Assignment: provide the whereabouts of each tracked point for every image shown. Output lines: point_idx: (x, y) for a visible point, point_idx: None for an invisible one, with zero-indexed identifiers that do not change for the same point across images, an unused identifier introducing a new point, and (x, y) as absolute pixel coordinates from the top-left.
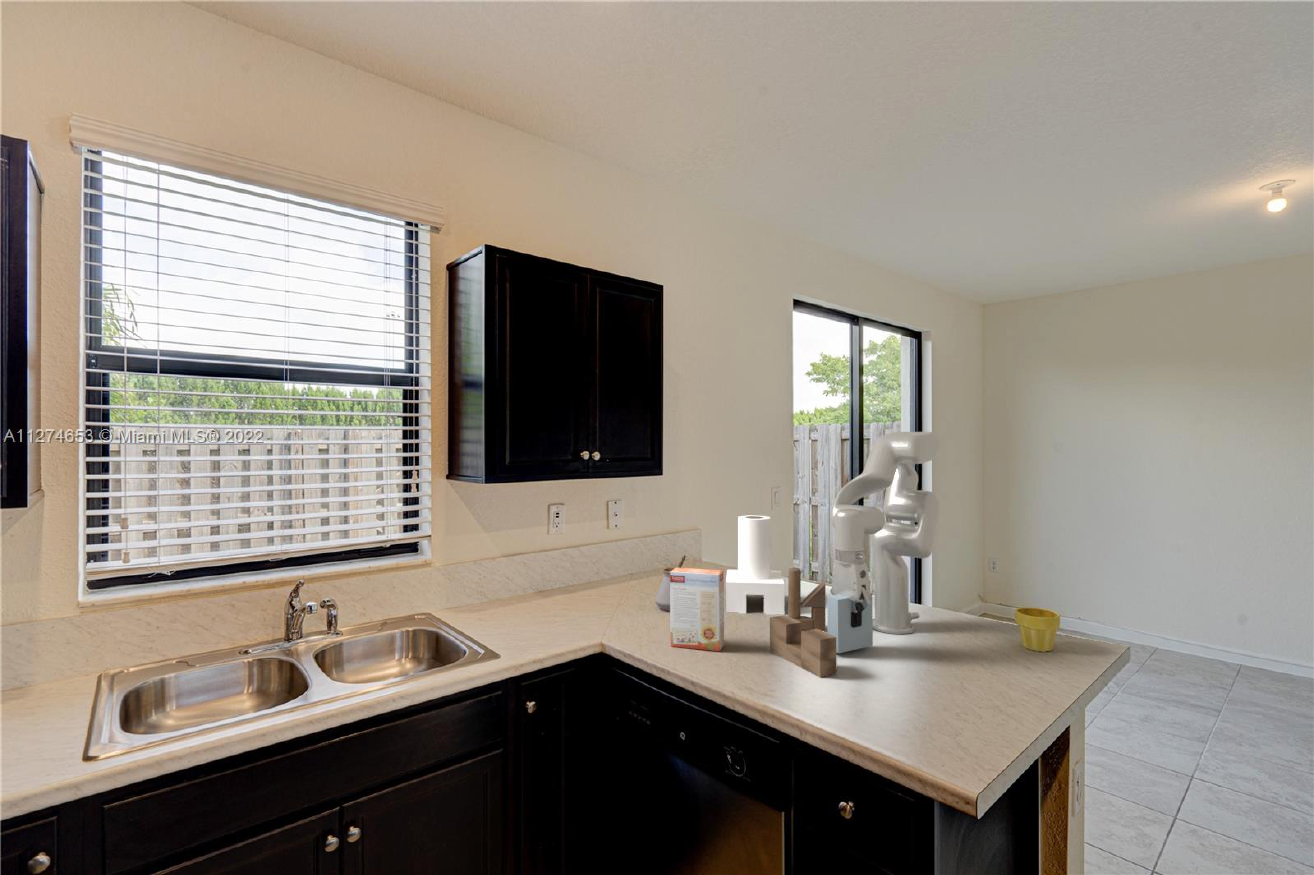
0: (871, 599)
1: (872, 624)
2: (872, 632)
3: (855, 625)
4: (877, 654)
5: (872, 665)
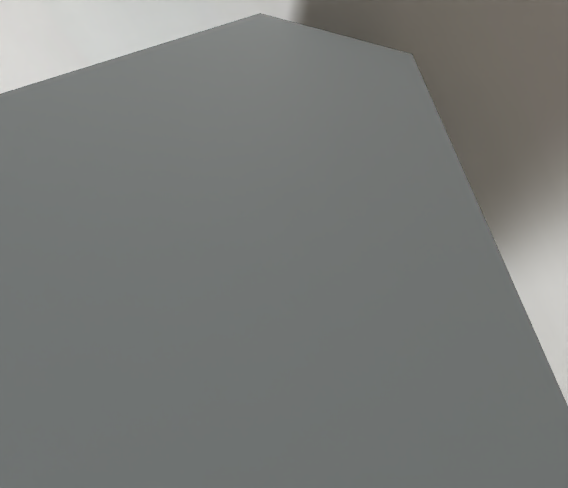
0: (536, 445)
1: (430, 99)
2: (421, 79)
3: None
4: (490, 113)
5: (556, 354)
